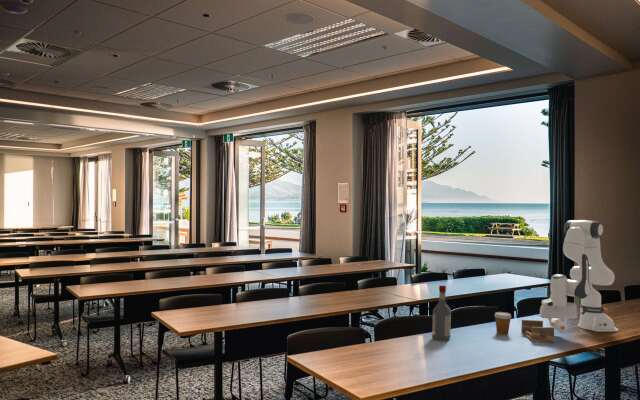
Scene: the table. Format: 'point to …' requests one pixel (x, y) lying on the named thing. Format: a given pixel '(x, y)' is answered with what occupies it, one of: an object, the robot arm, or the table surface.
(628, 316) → the table surface
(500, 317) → the disposable coffee cup
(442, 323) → the liquor
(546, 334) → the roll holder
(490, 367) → the table surface
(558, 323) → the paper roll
